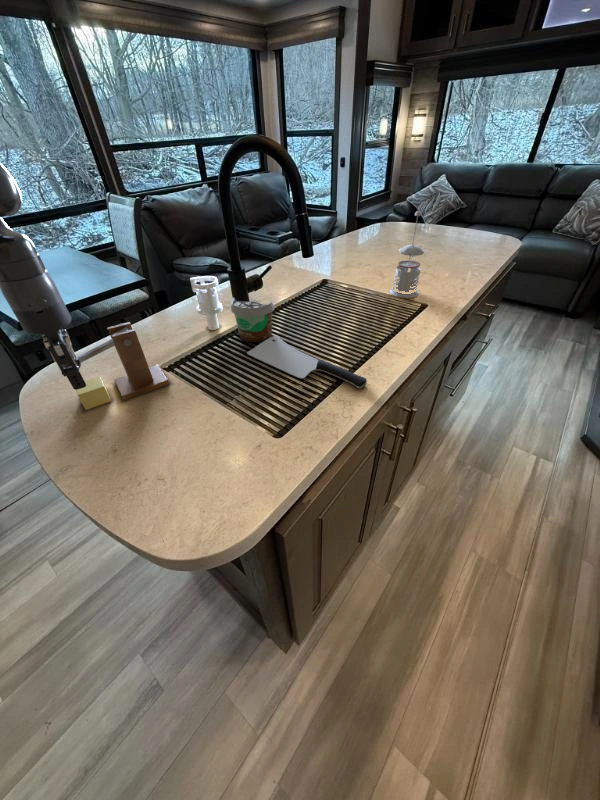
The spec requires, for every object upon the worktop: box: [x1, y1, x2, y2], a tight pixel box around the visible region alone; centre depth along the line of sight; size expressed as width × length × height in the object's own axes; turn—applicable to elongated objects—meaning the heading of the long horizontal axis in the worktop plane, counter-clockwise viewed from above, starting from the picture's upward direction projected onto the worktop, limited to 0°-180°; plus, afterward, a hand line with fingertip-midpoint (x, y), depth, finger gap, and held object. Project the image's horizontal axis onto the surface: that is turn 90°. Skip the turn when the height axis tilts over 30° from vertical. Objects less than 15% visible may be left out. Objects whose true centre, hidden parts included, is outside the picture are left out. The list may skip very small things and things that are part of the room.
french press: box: [389, 210, 426, 299], centre depth 108 cm, size 10×12×25 cm
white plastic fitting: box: [189, 275, 224, 331], centre depth 93 cm, size 7×7×15 cm
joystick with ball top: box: [63, 327, 128, 369], centre depth 67 cm, size 14×3×3 cm, turn 125°
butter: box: [75, 375, 112, 411], centre depth 71 cm, size 5×5×4 cm
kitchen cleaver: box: [246, 335, 368, 389], centre depth 80 cm, size 31×2×10 cm
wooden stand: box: [106, 321, 170, 401], centre depth 72 cm, size 10×8×14 cm
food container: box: [230, 297, 275, 343], centre depth 89 cm, size 12×6×10 cm, turn 71°
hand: (77, 377), depth 67 cm, fingers open, 8 cm apart
